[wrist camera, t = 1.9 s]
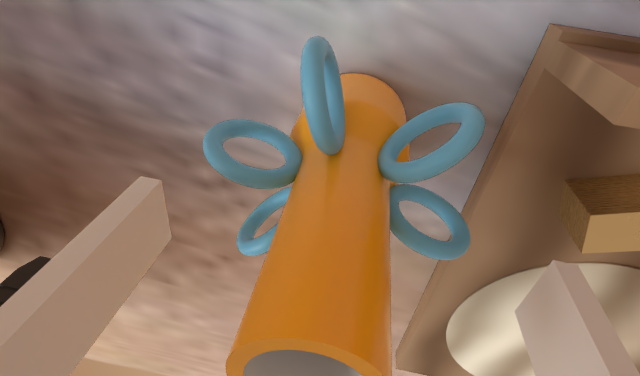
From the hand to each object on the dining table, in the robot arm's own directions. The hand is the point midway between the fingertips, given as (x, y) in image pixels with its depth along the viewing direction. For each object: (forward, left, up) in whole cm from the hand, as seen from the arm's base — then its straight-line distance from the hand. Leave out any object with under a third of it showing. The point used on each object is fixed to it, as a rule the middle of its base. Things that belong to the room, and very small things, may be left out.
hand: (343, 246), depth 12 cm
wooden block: (+14, -1, -9) cm, 16 cm away
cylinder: (0, 0, -10) cm, 10 cm away
